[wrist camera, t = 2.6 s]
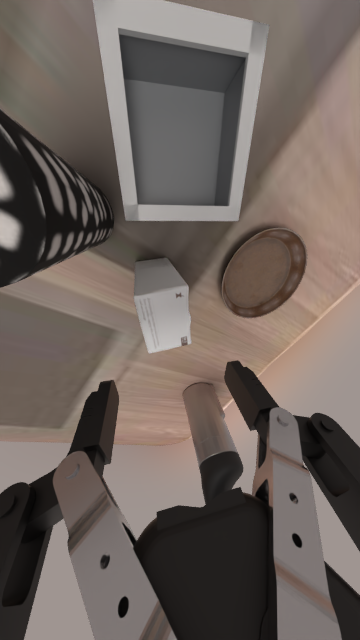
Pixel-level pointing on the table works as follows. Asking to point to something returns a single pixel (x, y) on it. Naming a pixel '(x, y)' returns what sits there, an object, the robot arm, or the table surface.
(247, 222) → the table surface
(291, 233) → the plant saucer
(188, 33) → the bin
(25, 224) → the white-spotted black cylinder
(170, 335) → the skincare box
